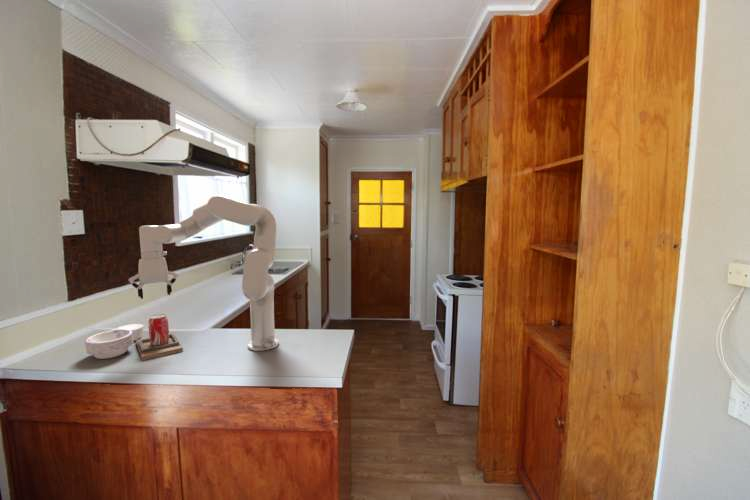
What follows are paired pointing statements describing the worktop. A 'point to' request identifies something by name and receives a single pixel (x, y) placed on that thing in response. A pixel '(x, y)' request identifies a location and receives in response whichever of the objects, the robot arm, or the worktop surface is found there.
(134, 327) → the ramekin
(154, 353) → the tan board
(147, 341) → the steel frame
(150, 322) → the soda can
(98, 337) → the paper bowls
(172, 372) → the worktop surface
